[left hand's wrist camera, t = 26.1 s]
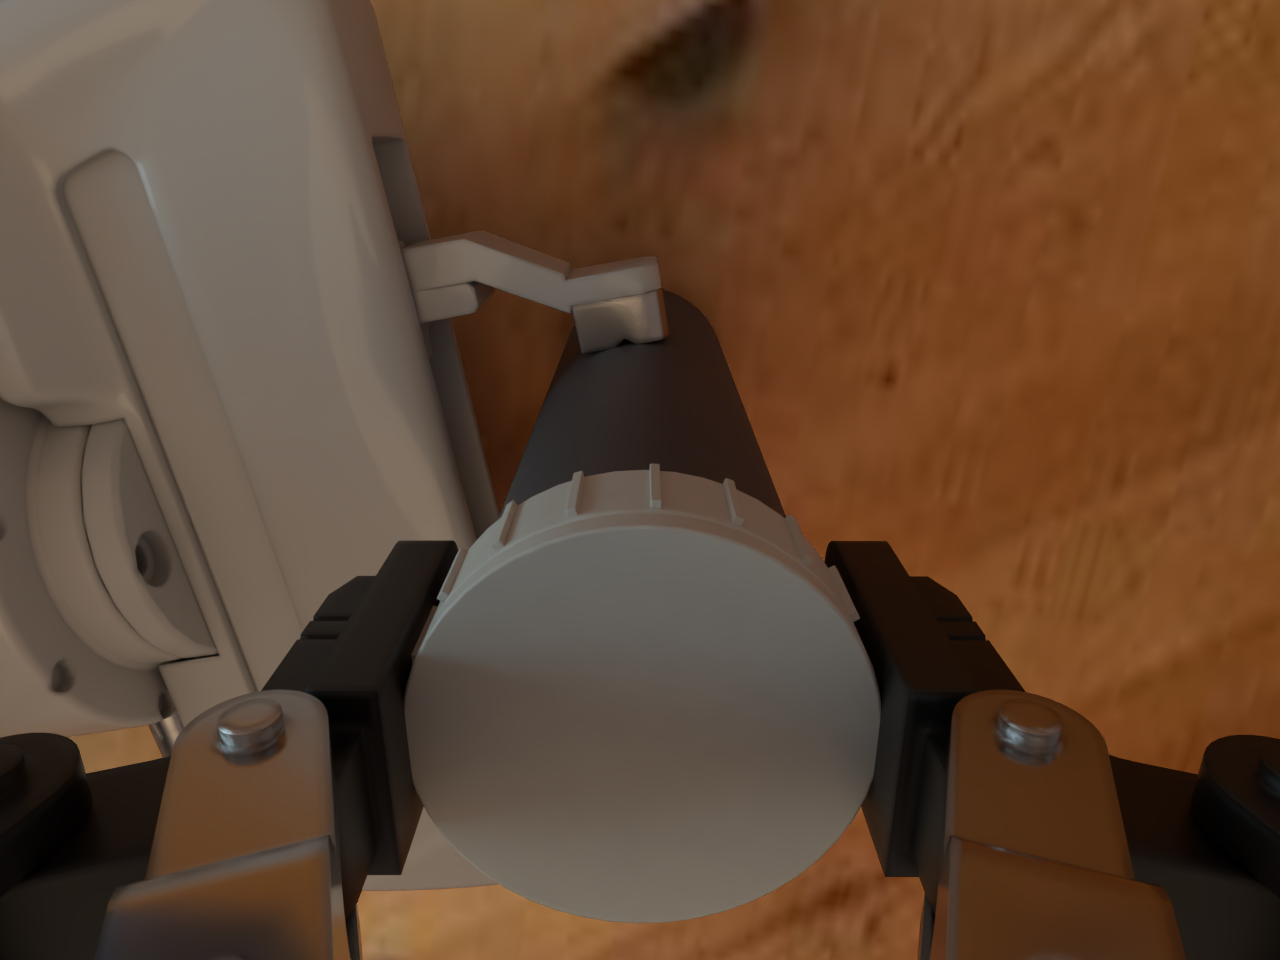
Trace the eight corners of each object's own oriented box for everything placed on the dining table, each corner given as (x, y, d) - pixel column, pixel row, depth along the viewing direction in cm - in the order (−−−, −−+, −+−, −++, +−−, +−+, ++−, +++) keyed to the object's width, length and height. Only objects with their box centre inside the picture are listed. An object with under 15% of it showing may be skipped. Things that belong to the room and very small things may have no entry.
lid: (941, 663, 11) (991, 749, 9) (639, 888, 12) (639, 996, 10) (648, 367, 9) (648, 410, 8) (342, 658, 10) (293, 743, 9)
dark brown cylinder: (685, 260, 23) (753, 451, 9) (745, 406, 25) (891, 778, 10) (536, 327, 24) (370, 609, 9) (604, 465, 25) (551, 894, 11)
